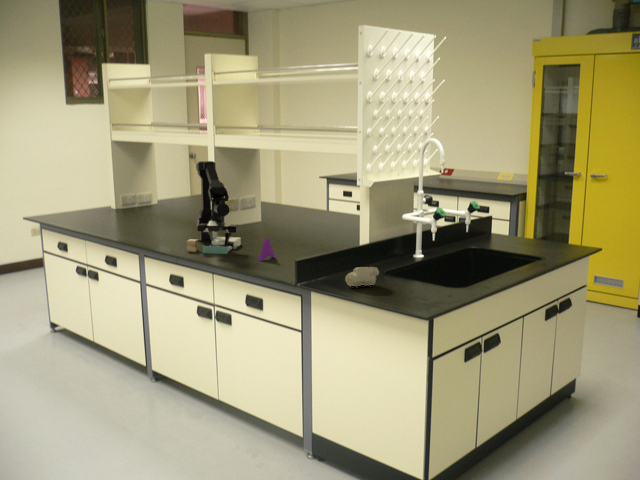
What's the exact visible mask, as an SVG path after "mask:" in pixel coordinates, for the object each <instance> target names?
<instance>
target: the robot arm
mask: <svg viewBox="0 0 640 480" xmlns="http://www.w3.org/2000/svg"><path fill="white" fill-rule="evenodd" d="M195 166H196V167H195V168H196V172H197V175H198V177H199V178H200V184H201V185H200V186H201V188H200V191H201V208H200V211H199V212H198V217H197V219H196V220H197V221H196V231H197V232H200V234H199V235H200V238H199V239H198V242H209V246H210V245H211V246H213V245H212V240H213V239H214V238H215V237H214V235H213V234H214V233H213V232H215V233H217V232H219V231H226V232H224V237H225V245H224V246H225V247H226V246H228V245H227V244H228V241H229V238H230V237H232V235H233V234H234V233H238V232H240V230H241V229H240V225H239V224H230V225H227V226H226V222H225V217H226V216H227V215H229V213H230V211H231V210H230V207H229V205H228V204H226V202H228V201H229V194H228V189H227V188H226V187H225V185H224V183H223V182H221V181H220V179H219V175H218V173H217V167H216V162H215V161H212V160H203V161H201V160H200V161H198V162H197V163H196V164H195ZM213 237H214V238H213Z"/></svg>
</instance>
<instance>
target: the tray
mask: <svg viewBox="0 0 640 480" xmlns="http://www.w3.org/2000/svg"><path fill="white" fill-rule="evenodd" d="M231 250H233V245H227V246H226V247H225V245H213V246H210V245H202V253H203V254H216V255H217V254H222V255H228V254H229V252H230V251H231Z"/></svg>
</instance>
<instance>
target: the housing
mask: <svg viewBox="0 0 640 480" xmlns="http://www.w3.org/2000/svg"><path fill="white" fill-rule="evenodd" d="M214 239H224V240H225V236H216V237H214ZM214 239H213V240H214ZM241 239H242V237H233V236H230V238H229V241H228V244H227V246H232V250H236V249H237V248H238V247H240V246H241V242H242V240H241ZM209 246H211V245H210V244H209Z"/></svg>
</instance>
